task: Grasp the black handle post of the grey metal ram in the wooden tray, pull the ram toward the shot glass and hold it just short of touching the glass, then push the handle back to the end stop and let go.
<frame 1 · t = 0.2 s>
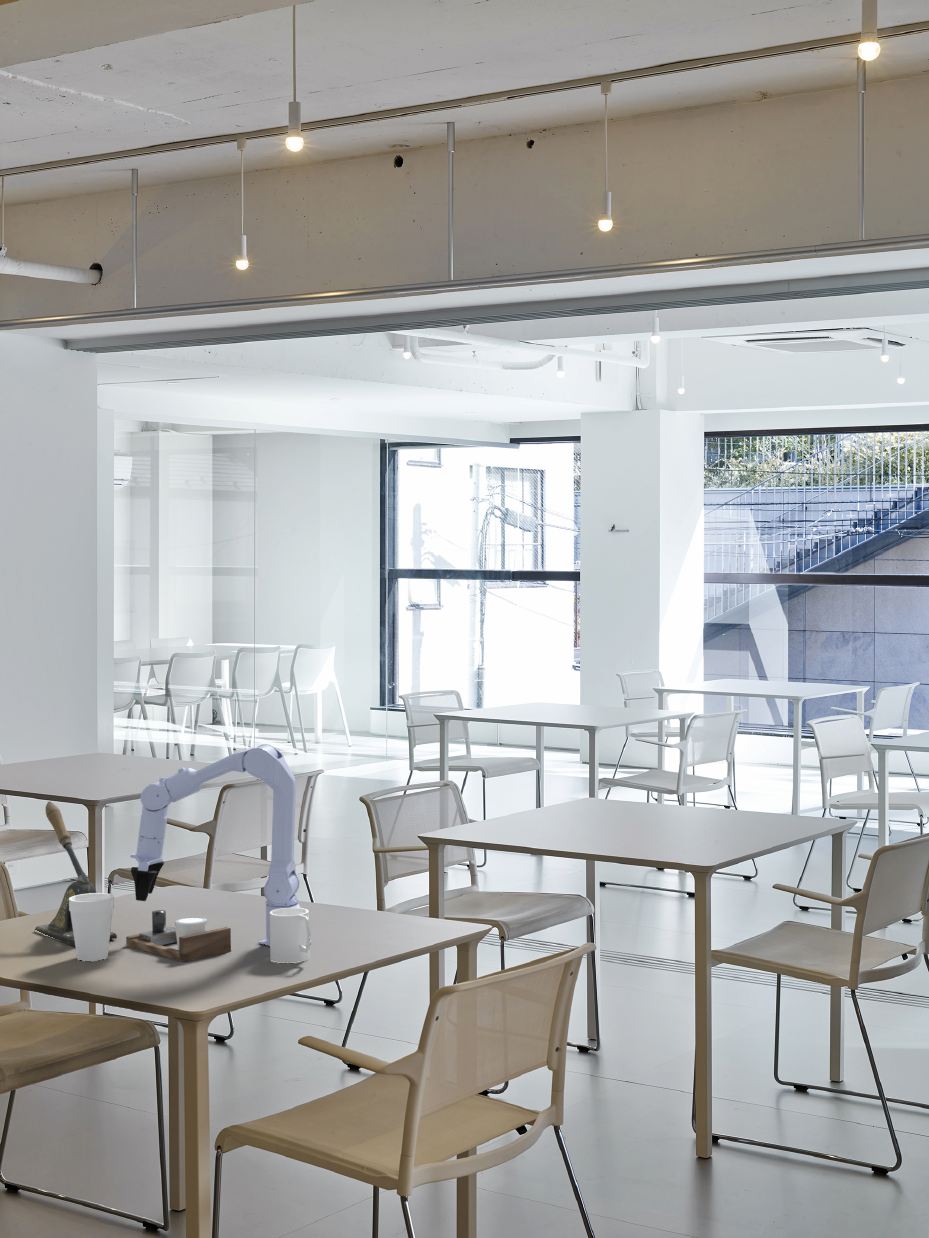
hand: (144, 896, 314), 10 cm above the table, tool pointing down, fingers open, 7 cm apart
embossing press: (74, 936, 322), on the table
foam cup: (92, 958, 301), on the table
ram: (160, 927, 313), point 4 cm above the table, slide at 0.0 cm
shot glass: (191, 952, 305), resting in wooden tray
wooden tray: (178, 948, 308), on the table
cup: (294, 961, 296), on the table
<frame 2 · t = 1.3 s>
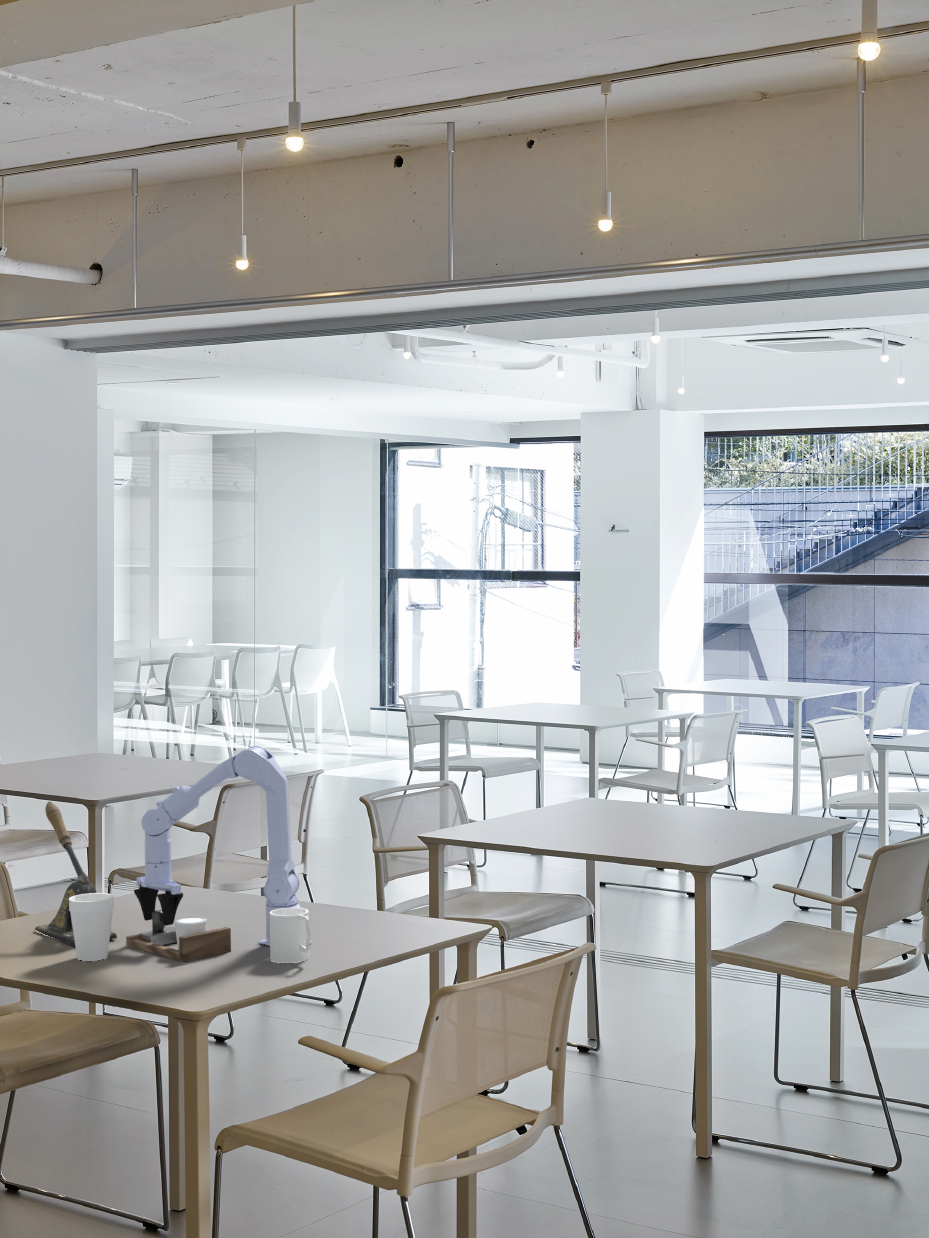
hand: (158, 922, 313), 5 cm above the table, tool pointing down, fingers open, 7 cm apart
nothing on the table moved.
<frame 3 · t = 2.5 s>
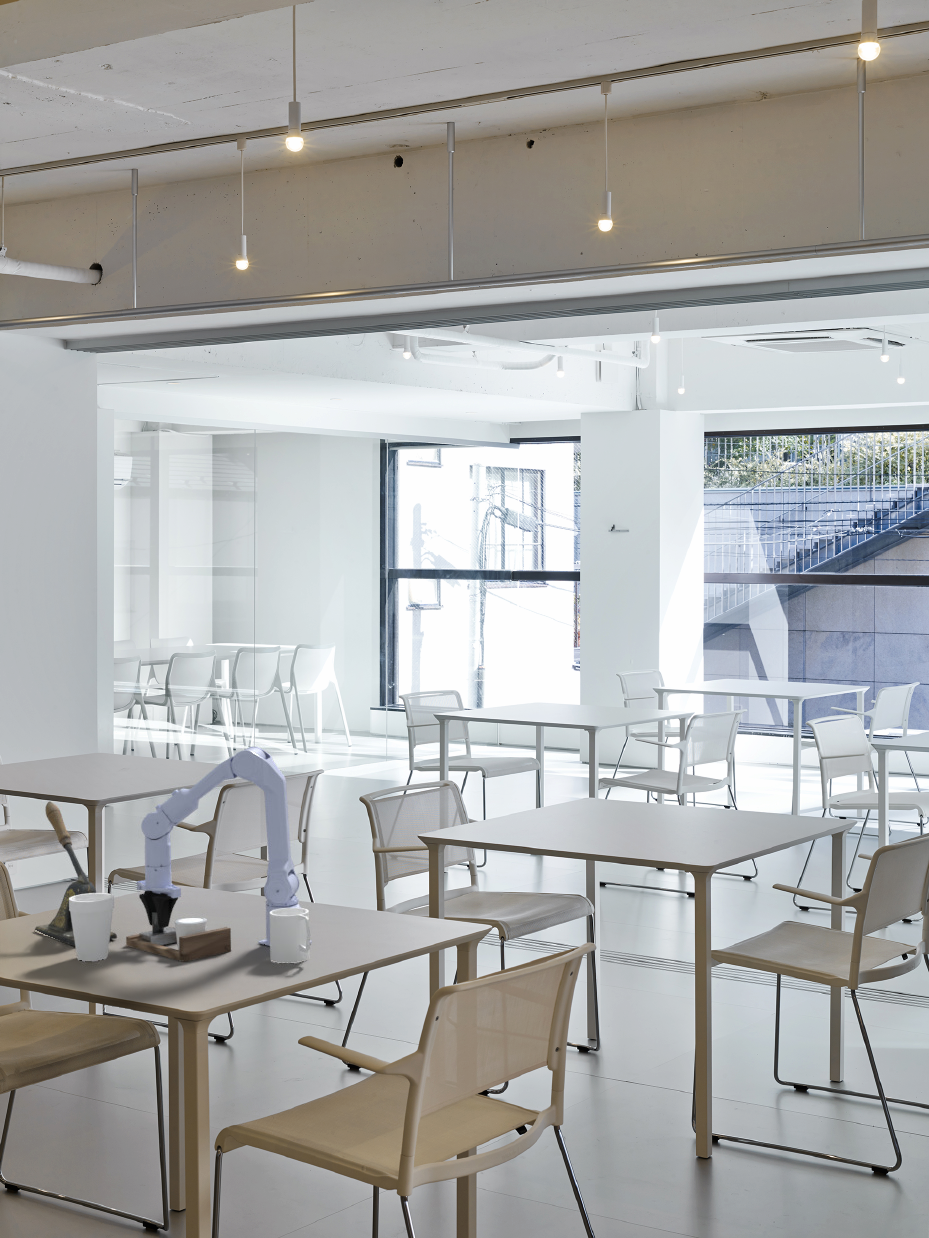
hand: (159, 925, 313), 4 cm above the table, tool pointing down, fingers closed on ram, 3 cm apart
ram: (160, 927, 313), point 4 cm above the table, slide at 0.0 cm, touching gripper
everything else where it was.
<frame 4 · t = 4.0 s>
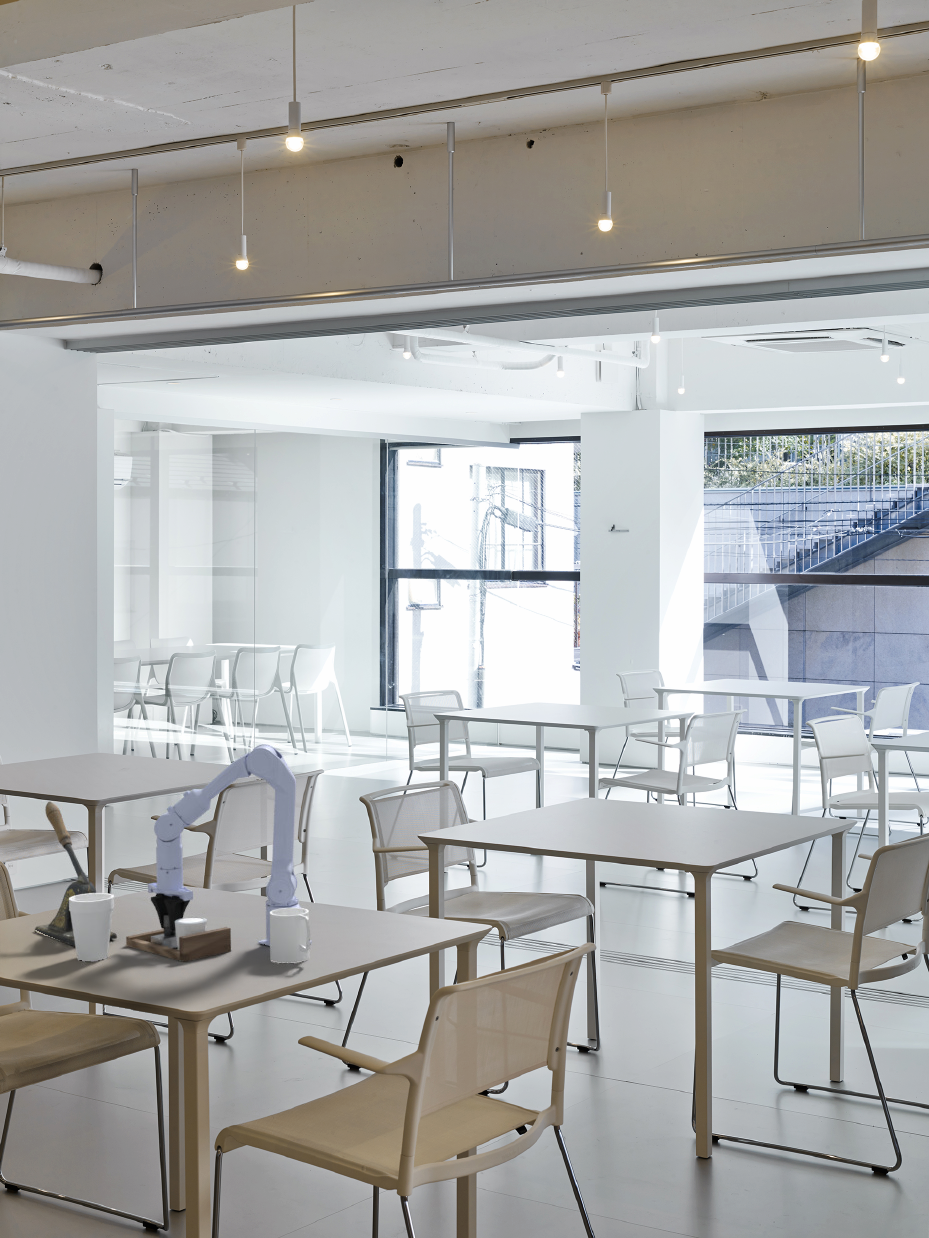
hand: (170, 928, 310), 4 cm above the table, tool pointing down, fingers closed on ram, 3 cm apart
ram: (172, 930, 310), point 4 cm above the table, slide at 4.5 cm, touching gripper
everything else where it was.
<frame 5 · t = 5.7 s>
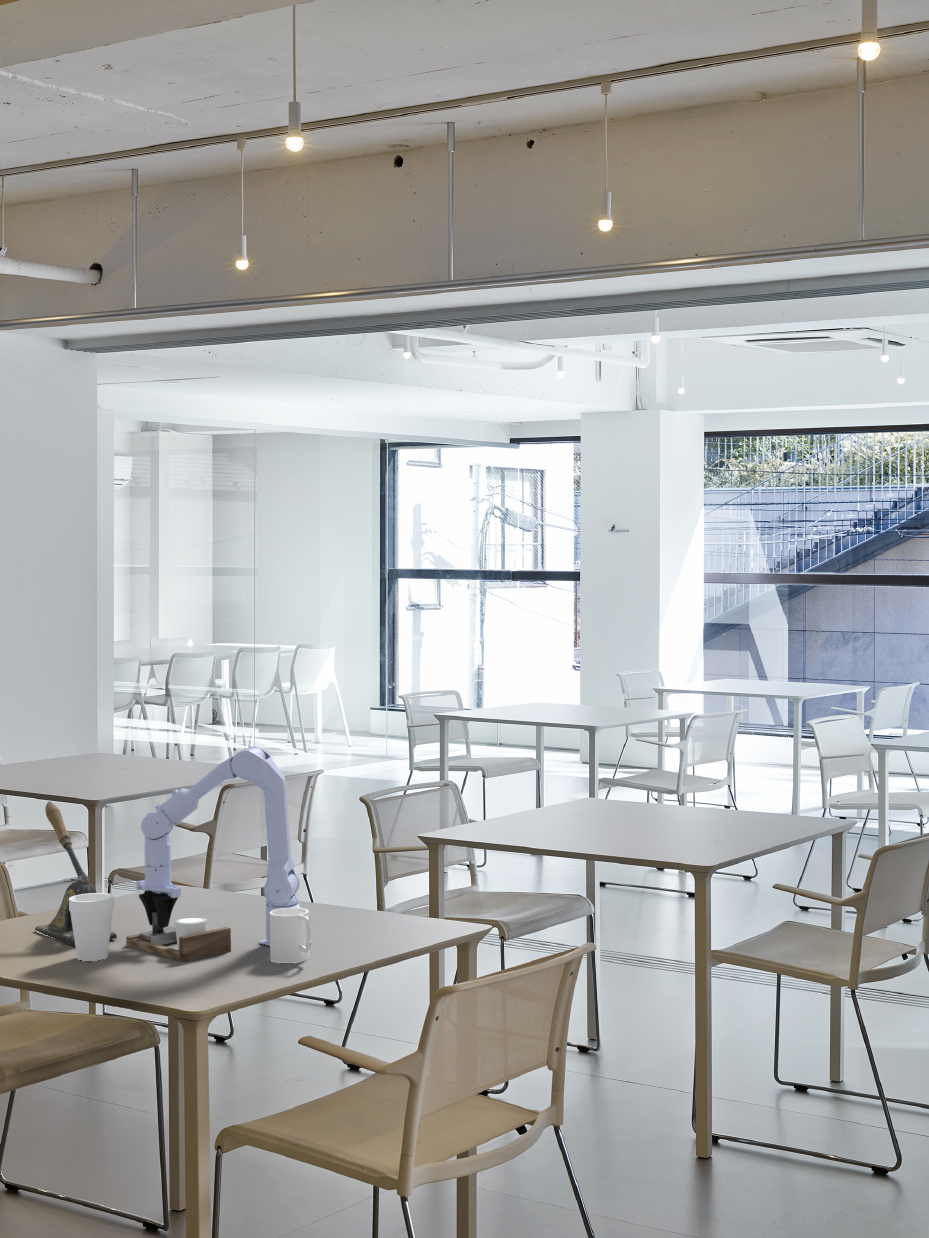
hand: (158, 925, 313), 4 cm above the table, tool pointing down, fingers closed on ram, 3 cm apart
ram: (160, 927, 313), point 4 cm above the table, slide at 0.0 cm, touching gripper
everything else where it was.
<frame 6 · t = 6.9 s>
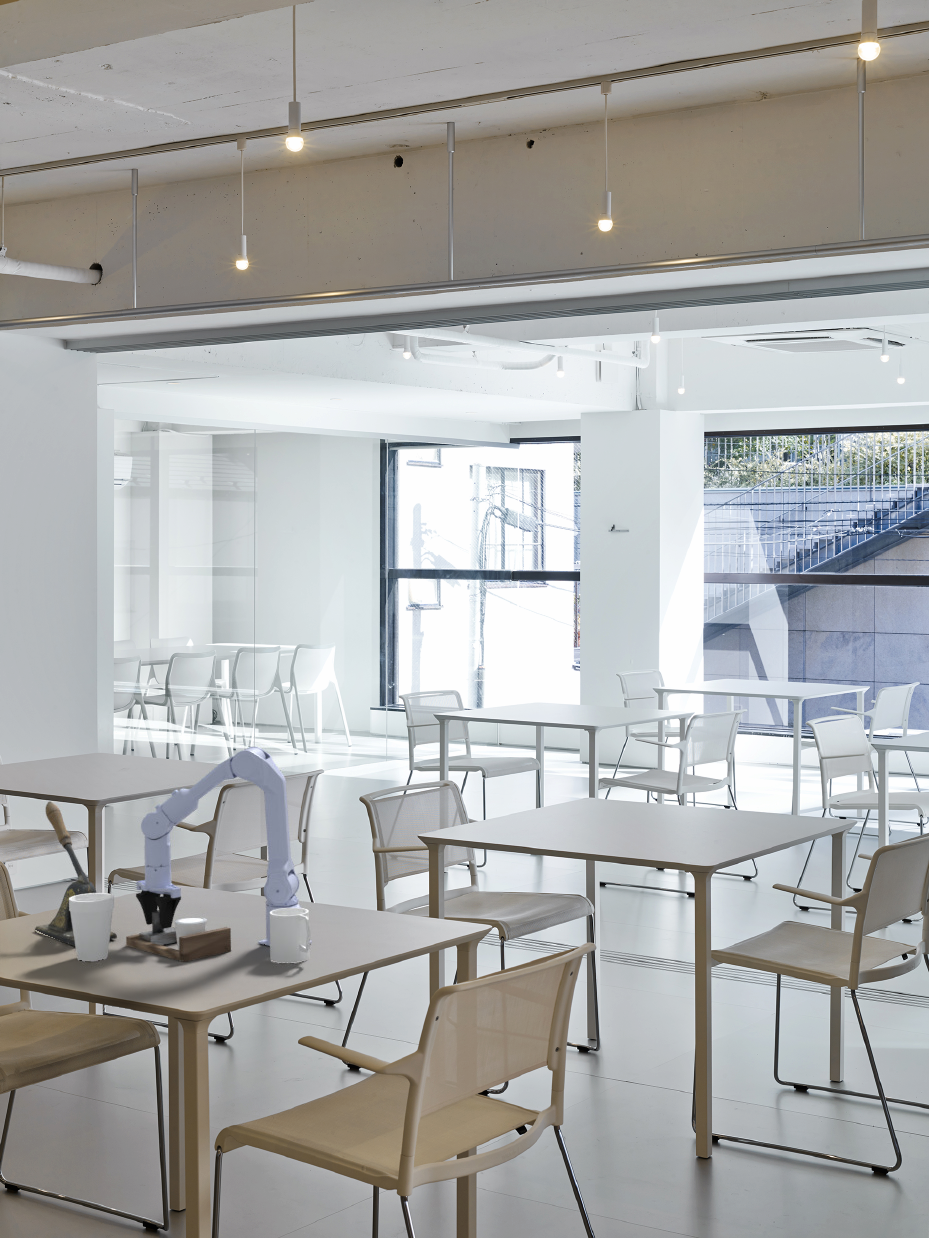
hand: (158, 925, 314), 4 cm above the table, tool pointing down, fingers open, 5 cm apart
ram: (160, 927, 313), point 4 cm above the table, slide at 0.0 cm
everything else where it was.
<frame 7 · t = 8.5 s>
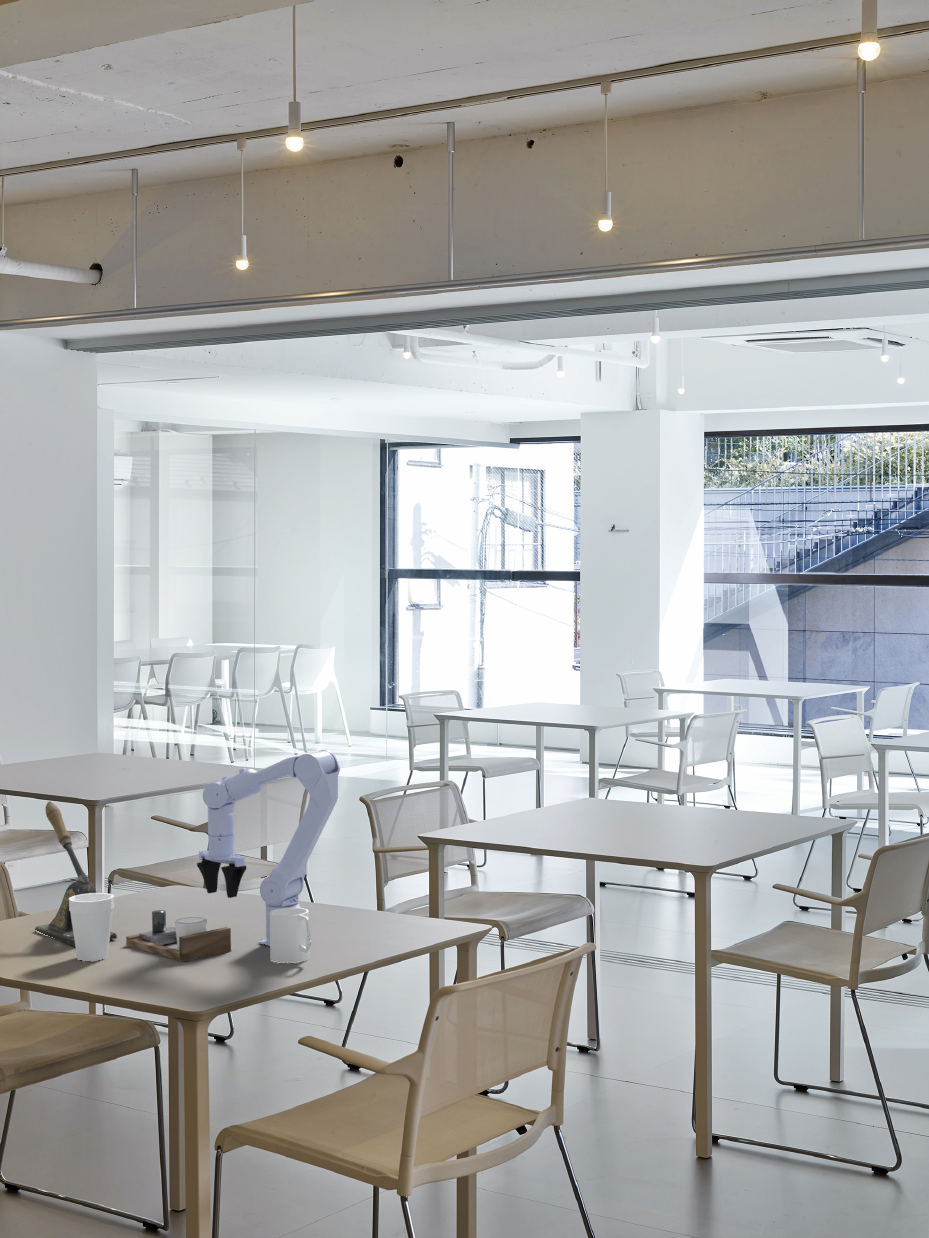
hand: (222, 894, 317), 10 cm above the table, tool pointing down, fingers open, 7 cm apart
nothing on the table moved.
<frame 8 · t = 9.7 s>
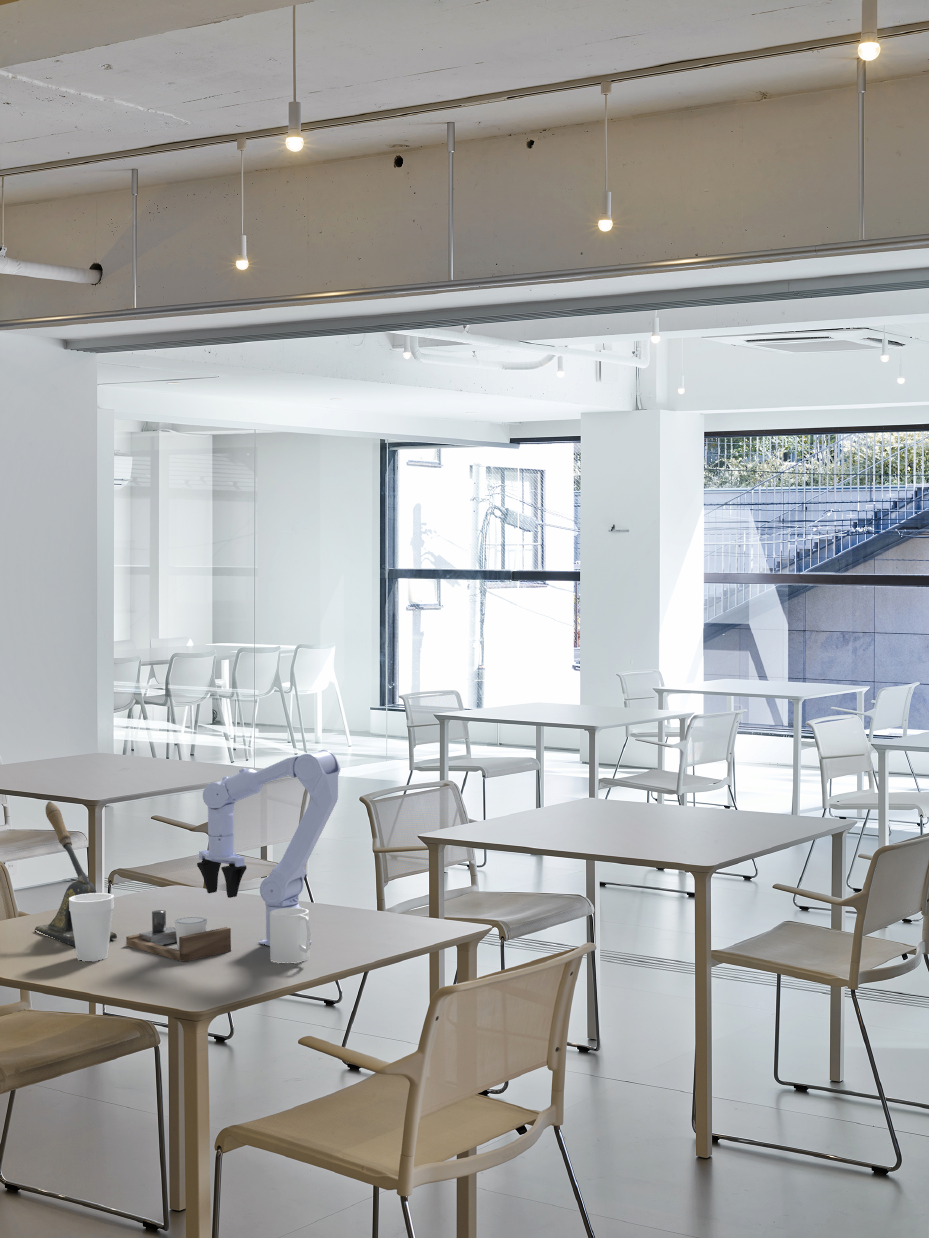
hand: (222, 894, 317), 10 cm above the table, tool pointing down, fingers open, 7 cm apart
nothing on the table moved.
at the end: ram slide at 0.0 cm; shot glass moved 0.2 cm from its start; the gripper is holding nothing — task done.
